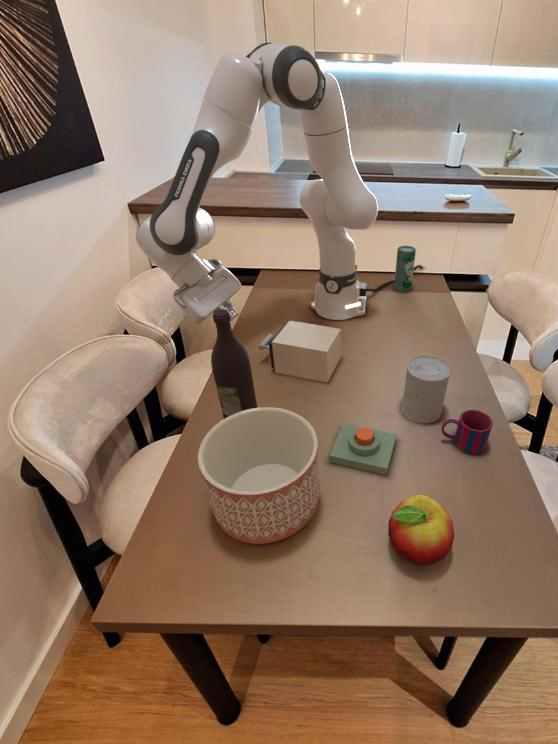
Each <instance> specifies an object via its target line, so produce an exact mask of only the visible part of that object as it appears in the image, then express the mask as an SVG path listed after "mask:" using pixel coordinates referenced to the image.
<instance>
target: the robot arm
mask: <svg viewBox="0 0 558 744" xmlns="http://www.w3.org/2000/svg"><path fill="white" fill-rule="evenodd" d="M208 81H209V82H208V84H207V87H206V88H205V92H204V94H203V98H202V101H201V105H200V108H199V111H198V114H197V118H196V121H195V124H194V127H193V130H192V133H191V135H190V137H189V140H188V143H187V145H186V146H185V150H184V152H183V154H182V156H181V159H180V161H179V164H178V167H177V169H176V172H175V175H174V177H173V180H172V183H171V185H170V188H169V190H168V193H167V195H166V197H165V199H164V200H163V202H162V203H161V204H160V205H159V206H158V207H157V208H156V209H155V210H154V212H153V213H152V214H151V216H149V217H147V218H145V219H144V220H143V221H142V222H141V223H140V224H139V226H138V228H137V229H136V232H135V242H136V244H137V245H138V247H139V249H140V250H141V251H142V252H143V253H144V255H146V257H147V258H148V259H149V260H150V261H151V262H152V263H153V264H154V265H155V266H156V267H158V268H159V269H160V270H162V271H163V272H165V273H166V274H167V275H168V277H169V279H170V280H171V282H173V283H174V284H175V285H176V286H177V287H178V289H175V290H174V291H173V293H172V294H173V296H172V298H173V301H174V302H175V303H176V304H177V305H178V306H179V308H180V309H181V310H182V312H183V313H184V314H185V315H186V316H187V317H188V319H190V321H192V323H194V324H198V325H200V324H201V323H202V322H204V321H205V320H207V318H208V317H210V316H211V315H213V312H214V311H216V310H219V309H226V310H227V311H228V312H229V313H230V318H231V320H230V322H232V321H233V320H234V319H235V318H236V317H238V316H239V314H240V313H239V311H238V310H236V308H235V306H234V303H233V301H232V300H231V298H232V297H233V296H235V295H236V294H237V293H238V292H239V291H240V290H241V289H242V283H241V282H240V280H239V279H238V278H237V277H236V276H235V275H234V274H233V273H232V272H231V270H229V269H228V268H226V267H224V266H222V265H223V264H222V261H220V260H219V259H218V258H210V259H204V258H203V259H201V258H200V257H199V256H198V255H197V251H198V250H200V249H202V248H203V247H205V246H207V245H208V244H209V243H210V242H211V241H212V240H213V238H214V237H215V233H216V226H215V222H214V219H213V218H212V216H211V214H210V213H209V212H208V211H207V210H205V209H204V208H202V207H200V206H201V204H202V201H203V199H204V196H205V195H206V191H207V189H208V186H209V184H210V182H211V180H212V178H213V176H214V175H215V174H216V172H218V171H219V170H220V169H221V168H223V167H224V166H225V165H227V164H228V163H230V162H232V161H235V160H236V159H238V158H240V157H241V155H242V153H243V151H244V150H245V148H246V146H247V144H248V143H249V141H250V138H251V135H252V132H253V129H254V127H255V124H256V121H257V117H258V114H259V113H260V111H261V109H262V108H263V106H265V104H267V103H269V102H270V103H273V104H275V105H277V106H280V107H287V108H290V109H293V110H297V111H298V113H299V115H300V116H299V117H300V118H301V126H302V130H303V136H304V142H305V146H306V150H307V156H308V161H309V164H310V166H311V168H312V170H314V172H315V173H316V174H317V175H318V176H319V177H320V178H321V179H311V180H308V181H307V182H306V183H304V185H302V188H301V190H300V193H299V205H300V208H301V210H302V211H303V212H304V214H305V215H306V216H307V218H308V219H309V221H310V224H311V225H312V228H313V230H314V233H315V236H316V240H317V243H318V244H317V245H318V252H319V253H318V254H319V269H318V273H317V276H318V282H317V283H316V284H315V285H314V301H312V302H311V303H310V308H311V309H313V310H314V311H315V312H316V313H317V315H318V316H320V317H322V318H324V319H327V320H332V321H343V320H344V321H345V320H350V319H351V318H355V317H360V316H365V314H366V307H367V299H368V298H367V297H368V296H367V292H378V290H380V289H382V288H385V286H388V285H390V284H394V282H395V279H393V280H388V281H386V282H383V283H382V284H380V285H378V286H377V287H375V288H370V287H369V288H368V282H361V281H360V280H359V279H358V273H357V271H358V264H356V257H357V256H356V255H357V254H356V253H357V252H356V251H357V247H356V244H355V241H354V240H353V238H351V236H350V235H349V233H348V231H347V229H348V230H352V231H353V230H354V231H355V230H357V231H359V230H360V231H362V230H364V231H365V230H367V229H369V228H370V227H372V225H374V223H375V221H376V220H377V217H378V213H379V204H378V200H377V197H376V196H375V195H374V193H373V192H372V191H371V190H370V189H369V188H368V187H367V186H366V184H365V183H364V181H363V179H362V177H361V175H360V173H359V172H358V169H357V166H356V164H355V161H354V157H353V154H352V149H351V141H350V134H349V128H348V120H347V114H346V109H345V103H344V100H343V96H342V91H341V89H340V86H339V82H338V80H337V78H336V77H335V76H334V75H333V74H331V73H329V72H327V71H322V70H321V67H320V65H319V64H318V62H317V60H316V59H315V57H314V56H313V55H312V54H311V53H310V52H309V51H308V50H307V49H305V48H304V47H302V46H300V45H294V44H291V43H288V42H284V41H278V42H263V43H261V44H259V45H257V46H255V48H253V50H252V51H251V52H249V53H248V54H247V55H244V54H242V53H239V52H227V53H225V54H223V55H222V56H221V57H220V59H219V61H218V62H217V64H216V66H215V68H214V70H213V72H212V74H211V77H210V78H209V80H208ZM423 268H424V267H423V265H422V264H417V265H416V266H414V269H413V272H414V271H416V270H417V269H421V270H422V269H423Z"/></svg>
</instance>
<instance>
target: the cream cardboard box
mask: <svg viewBox="0 0 558 744" xmlns="http://www.w3.org/2000/svg"><path fill="white" fill-rule="evenodd" d="M285 324H286V326H285V327H284V328H283V329H282V330H281V332H280V333H279V334H278V335H277V336H276V338H275V339H274V340H273V341H272V348H273V357H274V366H275V368H274V372H275V374H280V375H285V376H290V377H296V378H300V379H306V380H310V381H317V382H320V383H321V382H322V383H327V384H328V383H329V381H330V379H331V377H332V375H333V373H335V370H336V368H337V366H338V364H339V362H340V360H341V357H342V356H341V355H342V354H341V353H342V352H341V351H342V350H341V347H342V346H341V343H342V342H341V339H342V337H341V336H342V334H341V333H342V332H341V331H342V329H341V328H337V327H332V326H325V325H321V324H319V325H318V324H314V323H308V322H301V321H296V320H295V321H294V320H288V322H287V323H285Z"/></svg>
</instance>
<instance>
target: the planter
mask: <svg viewBox="0 0 558 744" xmlns="http://www.w3.org/2000/svg"><path fill="white" fill-rule="evenodd" d="M318 440H319V439H318V437H317V433H316V431H315V429H314V427H313V426H312V425H311V423H310V422H309V421H308V420H307V419H306V418H305V417H303V416H301V415H300V414H298V413H296V412H294V411H292V410H288V409H285V408H280V407H270V406H263V407H262V406H261V407H257V408H253V409H248V410H244V411H241V412H238V413H235V414H233V415H231V416H229V417H227V418H225V419H224V418H223V419H222V420H220V421H219V422H218V423H216V424H215V425H214V426H213V427H212V428H211V429H210V430H209V431H208V432H207V433H206V434H205V436H204V437H203V439H202V441H201V443H200V445H199V448H198V452H197V464H198V469H199V472H200V474H201V478H202V481H203V485H204V488H205V491H206V494H207V498H208V500H209V503H210V507H211V509H212V512H213V515H214V519H215V521H216V523H217V524H218V526H219V528H220V529H221V530H222V531H223V532H224V533H226V534H227V535H228V536H230V537H231V538H233V539H235V540H237V541H240V542H243V543H247V544H255V545H263V544H264V545H265V544H271V543H275V542H280V541H282V540H284V539H287V538H289V537H291V536H293V535H294V534H296V533H298V532H299V531H300V530H301V529H303V528H304V527H305V526H306V525H307V524H308V523H309V521H310V520H311V519H312V518H313V517H314V514H315V512H316V511H317V508H318V505H319V502H320V497H321V488H320V465H319V464H320V463H319V441H318Z"/></svg>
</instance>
